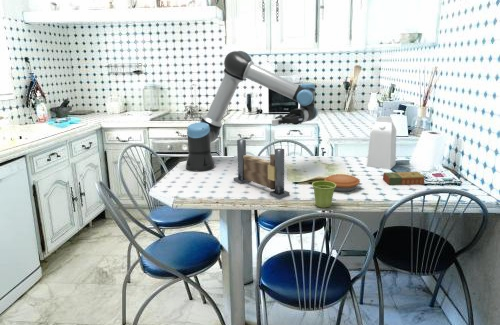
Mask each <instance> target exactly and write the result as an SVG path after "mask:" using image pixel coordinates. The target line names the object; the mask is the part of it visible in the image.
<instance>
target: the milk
mask: <svg viewBox="0 0 500 325" xmlns="http://www.w3.org/2000/svg"><path fill="white" fill-rule="evenodd" d="M369 135H370V136H369V142H368V151H367V152H368V153H367V160H366V167H368V168H376V169H381V170H382V169H384V170H391V169H392V168H393V167H395V165H396V162H397V161H396V159H397V156H396V155H397V128H396V126H395V124H394V122H393V119H392V116H385V115H384V116H382V115H378V116H377V118H376V120H375V122H374V124H373V126H372V128H371V130H370V134H369Z"/></svg>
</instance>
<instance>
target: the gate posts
mask: <svg viewBox="0 0 500 325" xmlns="http://www.w3.org/2000/svg"><path fill="white" fill-rule="evenodd" d="M246 143H247V141H246V139H243V138H239V139H237V140H236V144H237V146H236V147H237V149H236V151H237V153H236V155H237V177H236V176H235V177H233V182H234V183H237V184H240V185H242V184H248V183H251V181H249V180H246V179H244V158H243V156H244V155H247V144H246ZM274 154H275V166H272V165H268V179H270V180H273V181H275V190H271V191H269V196H270V197H273V198H276V199H278V200H280V199H283V198H287V197H290V191H287V190H285V148H275V149H274Z"/></svg>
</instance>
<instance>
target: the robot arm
mask: <svg viewBox="0 0 500 325" xmlns="http://www.w3.org/2000/svg"><path fill="white" fill-rule="evenodd" d="M223 64H224V70H223V75H224V76H223V78H222V80H221V83H220V85H219V87H218V89H217V92H216V94H215V96H214V98H213V100H212V102H211V104H210V106H209V108H208V111H207V113H206V114H205V115H202V118H201V120H200V121H199V122H194V123H191V124H189V125H188V126H187V130H186V134H187V149H188V156H187V159H186V163H185V168H186V170H187V171H190V172H207V171H210V170H213V169H214V168H215V166H216V165H215V160H214V158H213V156H212V153H211V149H212V148H211V143H213V142H215V141H216V140H217V139H218V138H219V136H220V133H221V129H222V126H223V124H222V119H223V118H224V116H225V113H226V111H227V110H228V107H229V105H230V103H231V101H232V99H233V96H234V94H235V93H236V90H237V88H238V86H239V83H242V82H244V80H246V79H248V80H249V81H253V82H254V83H256V84H258V85H261V86H262V87H265V88H267V89H269V90H270V91H273V92H276V93H277V94H279V95H282V96H284V97H287V98H289V99H290V100H292V101H295V102H297V103H298V104H299V107H297V108H295V109H291V110H290V111H289V112H288V113H287V114H285V115H283V114H279V115H277V116H276V117H274V119H271V126H272V127H276V126H280V125H285V124H286V125H302V124H303V123H306V122H312V121H313V120H314V119H316V118H317V116H318V113H319V112H318V109H317V107H316V106H315V98H316V86H315V83H312V82H303V83H301V84H300V85H299V84H296V83H295V82H293V81H291V80H288V79H286V78H284V77H282V76H280V75H277V74H275V73H273V72H271V71H269V70H267V69H265V68H264V67H260V66H259V65H257V64H254V63H253V60H252V58H251V56H250V54H248V53H247V52H245V51H243V50H233V51H230V52H229V53H227V55H226V56H225V58H224V61H223Z"/></svg>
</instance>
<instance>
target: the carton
mask: <svg viewBox="0 0 500 325" xmlns="http://www.w3.org/2000/svg"><path fill="white" fill-rule="evenodd" d="M382 174H383V175H382V176H383V177H382V181H383V182H385V184H387V186H412V185H413V186H414V185H415V186H416V185H419V186H421V185H425V176H424V175H423V174H421V173H420V172H419V171H396V172H394V171H393V172H383V173H382Z"/></svg>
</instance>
